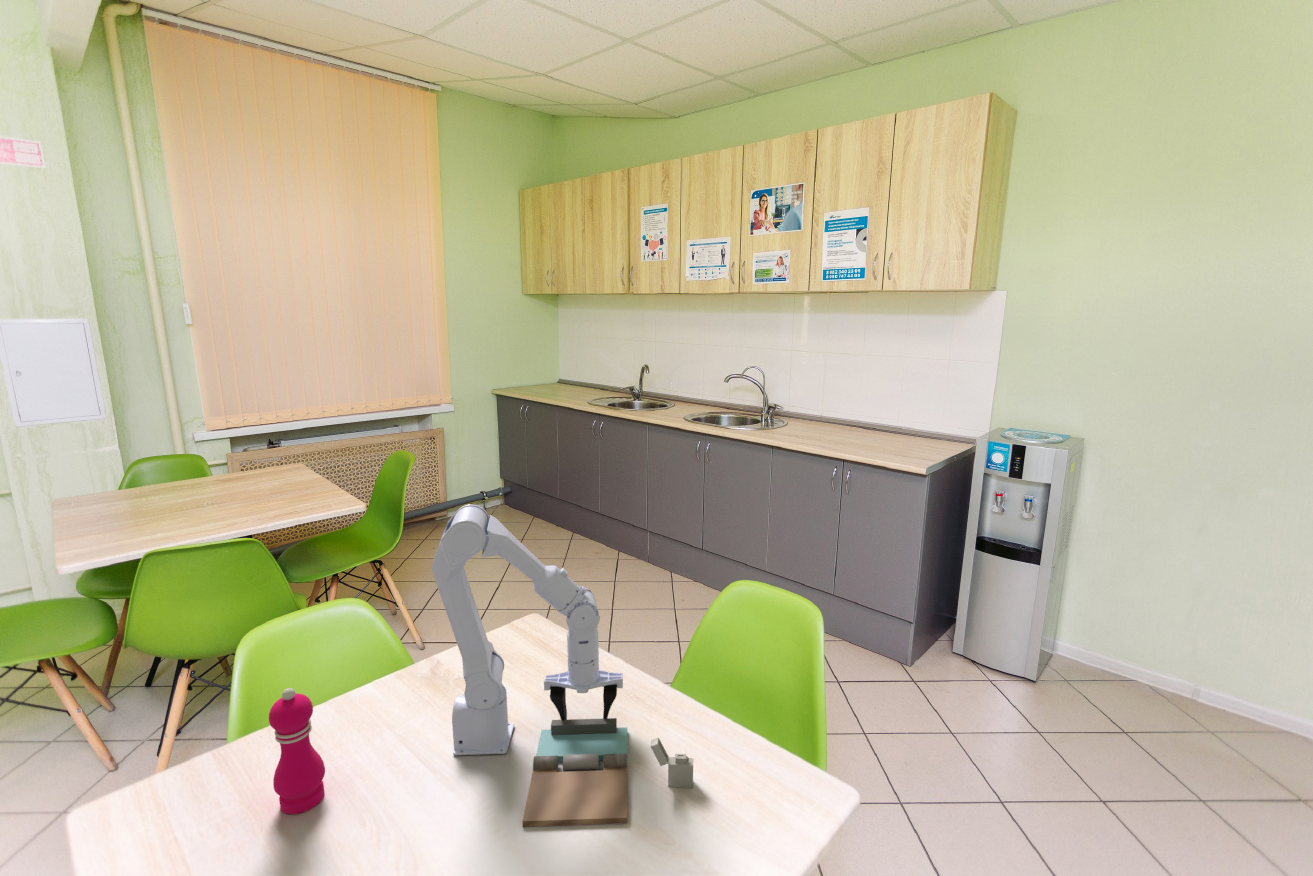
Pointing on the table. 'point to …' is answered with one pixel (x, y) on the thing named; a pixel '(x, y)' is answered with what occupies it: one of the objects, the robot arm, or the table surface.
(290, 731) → the pepper mill
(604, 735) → the teal hinge plate
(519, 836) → the table surface
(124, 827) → the table surface
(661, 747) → the lighter
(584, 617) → the robot arm
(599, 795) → the fixed leaf
